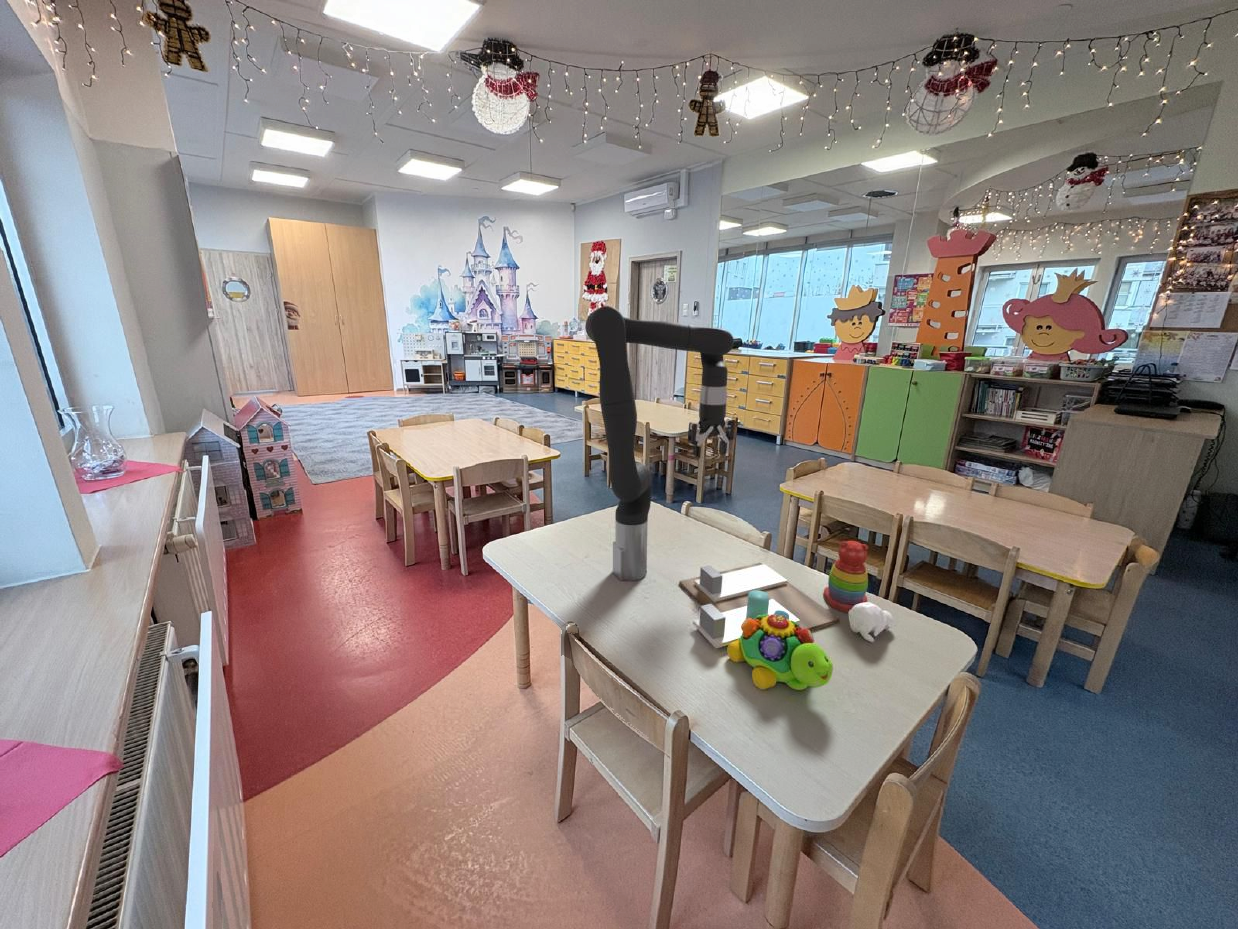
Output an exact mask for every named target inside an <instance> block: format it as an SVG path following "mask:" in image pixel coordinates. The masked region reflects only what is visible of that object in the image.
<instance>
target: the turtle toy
mask: <svg viewBox="0 0 1238 929" xmlns="http://www.w3.org/2000/svg"><path fill="white" fill-rule="evenodd" d="M741 629H742V631H743V632H742V635H741V636H740V640H736V641H735V642H732V643H730V644H729V645H727V648H726V650H727V655H728V657H729V659H730V660H731V661H732V662H734V663H740V662H747V663H748V665H750V666H751V667H752V668H753V669H752V673H751V678H752V681H753V683H754V685H755V686H756V687H757V688H758V689H760V690H766V689H770V688H773V687H774V686H776V684H777V682H781V683H785V684H786V685H787V686H789V687H790V688H791V689H794V690H798V691H799V690H801V691H802V690H805V689H807V687H808V686H809V687H823V686H825V685H827V684H828V683H829V682H830V680H831V678H832V675H833V670H834V669H833V668H834V664H833V662H832V660H831V658H830V656H828V655H827V653H826V652H825V651H824V649H823V648H822V647H820V646H819V645H817V644H816V643H814V642H815V637H814V634H813V633H812V631H810V630H809V629H807V628H804V629H801V627H800V626H799V625H798V624H797V623H796V622H795V621H792V620H789V614H788V613H787V612H785V611H782V610H777V611H775V612H774V614H771V615H769V614H764V615H761V616H760V615H758V616H756V618H754V619H751V618H747V619H746V620H744V622H743V623H742V625H741Z"/></svg>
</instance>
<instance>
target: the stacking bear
mask: <svg viewBox="0 0 1238 929" xmlns="http://www.w3.org/2000/svg"><path fill="white" fill-rule="evenodd" d="M868 550H869V546H868V545H867V544H865V543H863V544H862V543H861V542H859V541H856V540H846V541H845V540H843V541H841V542H840V543H839V548H838V557H839V558H837V559H836V560H835V562H834V563H833V565H832V567H831V569H830V571H829V574H828V578H827V579H828V583H827V584H828V585H827V586H826V587H824V589H823V598H824V600H825V602H826V603H827V605H829V606H830V607H832V608H833V609H835V610H838V611H841V612H843V613H849V611H850V610H851V609H852V608H853V607H854V606H855V605H857V604H859V603H865V602H868V597H867V595H866V593H867V591H868V587H869V577H868V575H869V574H868V570H867V567H866V565H865V562H866V560H867V557H868Z"/></svg>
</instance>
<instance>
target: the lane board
mask: <svg viewBox="0 0 1238 929" xmlns="http://www.w3.org/2000/svg"><path fill="white" fill-rule="evenodd" d="M759 565H763V563H762V562H758V563H752V564H749V565H743V566H739V567H735V568H732V569H727V570H723V571H719V573H720V574H724V573H728V572H733V571H737V570H741V569H746V568H750V567H754V566H759ZM698 579H700V576H695V577H691V578H688V579H682V580H680V581H678V582H679V584H678V585H679V586H680V587H681V588H682V589H683V590H684V591H685V592H686V593H687V594H688V595H689V596H691V597H692V599H693V600H695V602H697V603H698V605H700V606H703V605H707V604H712V605H713V606H714V607H715V608H716V609H718V610H719V611H720V612H721V613H722V612H726V611H730V610H734V609H737V608H741V607H745V606H747V602H748V594H744V595H740V596H736V597H732V598H728V599H725V600H721V601H717V602H713V601H712V600H711V599H710V598H709V597H708V596H707V595H706V594H705V593H704V592H703V591H702V590H701V589H699V588H698V587H697V586H696V585H695V584H694V580H698ZM760 591H763V592H765V593H767V594H768V595H769V597H770V598H769V600H771V599H773V600H775V601H776V602H777V603H779V604H780V605H781V606H782V607H784V608H785V609H786V610H788V611H789V612H790V613H791V614H793V615H794V616H795V617H797V618H798V619H799V620H800V624H798V625H799V626H800V627H801V629H804V628H807V629H809V630H810V632H812V631H814V630H819V629H821V628H824V627H828V626H830V625H834V624H837V623H840V620H841V618H840V617H838V616H837V615H835V614H834V613H832V612H831V611H830V610H829V609H827V608H826V607H824V606H823V605H821V604H820V603H819V602H817V601H815V600H814V599H813V598H811V597H810V596H809V595H807V594H805V593H804V592H803V591H802V590H800V589H799V588H797V587H796V586H794V585H793V584H791V583H790V582H788V581H787V584H783V585H779V586H776V587H772V588H768V589H764V590H760Z"/></svg>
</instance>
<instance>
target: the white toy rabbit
mask: <svg viewBox="0 0 1238 929" xmlns="http://www.w3.org/2000/svg"><path fill="white" fill-rule="evenodd" d="M893 620H894V618H893V616H892V614H891V613H890V612H889V611H887V610H882V608H881V607H880V606H878V605H877V604H874V603H872V602H870V601H867V602H865V603H859V604H857V605H855V606H854V607H853V608H852V609H851V610H850V611H849V612H848V622H849V625H850V629H851V630H852V631H853V633H860V635H861V636H862V637H863V638H864V640H865V641H868V642H870V643H874V642H875V639H874V638H873V637H877V636H878V635H879V634H880V633H881V632H882V631H883V630H886V631H888V630H889V629H892V627H891V625H892V623H893ZM872 629H874V631H873V636H872V635H871V634H869V633H870V632H872Z"/></svg>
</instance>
